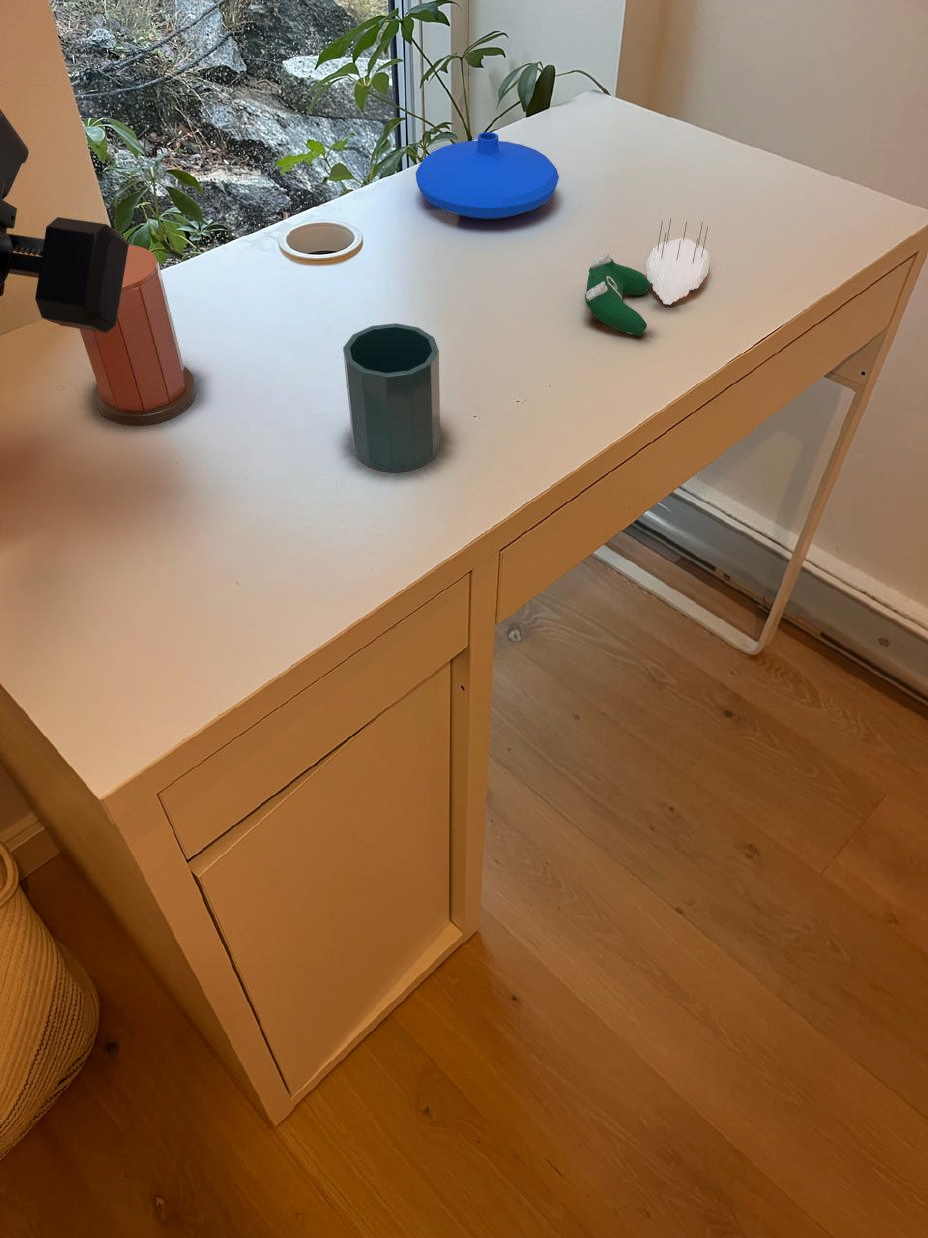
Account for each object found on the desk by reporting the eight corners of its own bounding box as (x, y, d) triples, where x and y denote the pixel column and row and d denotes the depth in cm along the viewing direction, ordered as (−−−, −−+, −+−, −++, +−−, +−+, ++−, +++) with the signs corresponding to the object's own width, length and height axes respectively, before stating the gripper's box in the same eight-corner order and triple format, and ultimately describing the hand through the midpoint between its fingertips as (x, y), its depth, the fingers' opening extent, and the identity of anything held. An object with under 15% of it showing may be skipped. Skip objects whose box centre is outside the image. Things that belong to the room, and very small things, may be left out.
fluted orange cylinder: (100, 416, 80) (60, 294, 72) (103, 367, 85) (66, 247, 77) (187, 406, 81) (156, 285, 73) (185, 358, 86) (156, 239, 78)
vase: (582, 193, 110) (588, 128, 105) (509, 249, 102) (512, 181, 96) (466, 159, 116) (466, 96, 111) (387, 210, 107) (384, 144, 102)
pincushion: (655, 244, 102) (664, 191, 98) (714, 253, 101) (725, 200, 97) (635, 302, 95) (643, 246, 91) (697, 312, 94) (709, 256, 89)
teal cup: (359, 477, 77) (350, 380, 70) (348, 424, 82) (338, 329, 75) (446, 466, 78) (445, 369, 71) (430, 414, 83) (428, 319, 76)
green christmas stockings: (622, 303, 98) (584, 261, 95) (653, 281, 96) (614, 236, 93) (617, 354, 92) (576, 310, 89) (650, 332, 90) (608, 286, 87)
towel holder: (95, 431, 81) (73, 369, 76) (98, 374, 86) (79, 313, 82) (198, 419, 82) (183, 357, 77) (195, 363, 87) (181, 302, 83)
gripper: (65, 88, 52) (197, 200, 68) (-227, 53, 55) (-39, 168, 71) (33, 296, 53) (170, 360, 68) (-254, 250, 56) (-61, 321, 72)
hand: (58, 297), depth 70 cm, fingers open, 9 cm apart
